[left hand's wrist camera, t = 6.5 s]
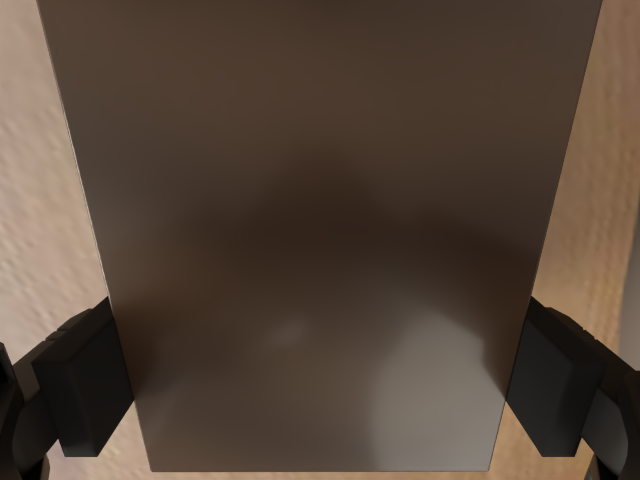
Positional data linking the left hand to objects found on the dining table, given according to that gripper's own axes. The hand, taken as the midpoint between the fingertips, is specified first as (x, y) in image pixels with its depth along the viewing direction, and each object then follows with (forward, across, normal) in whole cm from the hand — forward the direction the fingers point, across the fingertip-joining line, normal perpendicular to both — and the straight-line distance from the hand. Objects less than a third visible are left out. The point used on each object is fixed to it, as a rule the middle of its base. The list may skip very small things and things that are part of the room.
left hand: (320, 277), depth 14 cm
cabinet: (+4, 0, -4) cm, 6 cm away
